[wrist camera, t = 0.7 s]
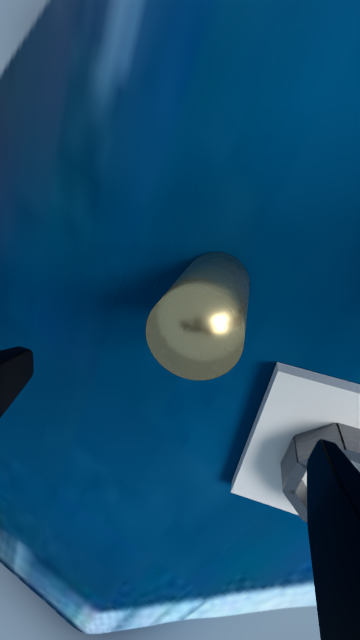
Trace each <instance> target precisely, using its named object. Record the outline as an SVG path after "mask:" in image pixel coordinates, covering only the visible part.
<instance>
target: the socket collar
mask: <svg viewBox="0 0 360 640" xmlns="http://www.w3.org/2000/svg"><path fill="white" fill-rule="evenodd" d="M319 439H324V440H328V441H331V442H334V443H336V444H337V445H338V447H339V448H340V449H341V450H342V451H343V453H344V454H345V455H346V456H347V457H348V459H349V460H350V461H353V462H356V463H359V464H360V429H359V428H355V427H352V426H348V425H345V424H341V423H337V424H336V423H332V424H329V425H326V426H322V427H319V428H316V429H313V430H309V431H306V432H303V433H299V434H296V435H295V436H293V438H292V440H291V442H290V444H289V446H288V448H287V450H286V453H285V455H284V457H283V459H282V461H281V463H280V464H281V477H282V490H283V493H284V495H285V496H286V498H287V499H288V500H289V502H290V503H291V505H292V506H293V507H294V509H295V510H296V512H297V513H298V514H299V516H300V517H301V519H302V520H304V521H305V522H307V486H306V484H305V483H304V481H303V480H302V478H303V477H304V475H305V473H306V471H307V461H308V458H309V456H310V454H311V452H312V450H313V448H314V447H315V445H316V443H317V441H318V440H319Z"/></svg>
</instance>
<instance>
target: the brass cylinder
mask: <svg viewBox="0 0 360 640" xmlns="http://www.w3.org/2000/svg"><path fill="white" fill-rule="evenodd" d="M249 287H250V281H249V276H248V273H247V270H246V268H245V267H244V265H243V264H242V263H241V262H240V261H239V260H238V259H237V258H235V257H234V256H232V255H230V254H227V253H223V252H209V253H206V254H203V255H201V256H199V257H198V258H196V259H195V260H194V261H193V262H192V263H191V264H190V265H189V266H188V268H187V269H186V270H185V271H184V272H183V274H182V275H181V276H180V277H179V278H178V279H177V281H176V282H175V283H174V284H173V285H172V286H171V288H170V289H169V290H168V291H167V292H166V293H165V295H164V296H163V297H162V298H161V299H160V300H159V302H158V303H157V304H156V305H155V306H154V308H153V309H152V311H151V312H150V314H149V317H148V319H147V324H146V338H147V343H148V346H149V348H150V350H151V352H152V354H153V356H154V357H155V358H156V360H157V361H158V362H159V363H160V364H161V365H162V366H163V367H164V368H166V369H167V370H168V371H170V372H172V373H173V374H175V375H178V376H180V377H183V378H186V379H191V380H209V379H213V378H216V377H219V376H221V375H223V374H225V373H226V372H228V371H229V370H230V369H232V368H233V367H234V366H235V364H236V363H237V362H238V360H239V358H240V357H241V354H242V351H243V347H244V339H245V328H246V318H247V308H248V297H249Z"/></svg>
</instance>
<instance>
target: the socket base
mask: <svg viewBox="0 0 360 640" xmlns="http://www.w3.org/2000/svg"><path fill="white" fill-rule="evenodd" d="M332 423H336V424H337V423H341V424H345V425H348V426H352V427H355V428H359V429H360V384H356V383H352V382H349V381H345V380H341V379H338V378H334V377H330V376H327V375H323V374H319V373H316V372H312V371H308V370H305V369H301V368H297V367H294V366H290V365H286V364H283V363H279V362H277V363H276V366H275V369H274V371H273V374H272V377H271V379H270V382H269V384H268V387H267V390H266V392H265V395H264V398H263V400H262V403H261V405H260V408H259V411H258V413H257V416H256V419H255V421H254V424H253V426H252V429H251V432H250V434H249V437H248V440H247V442H246V445H245V448H244V450H243V453H242V455H241V458H240V461H239V463H238V466H237V469H236V471H235V474H234V476H233V479H232V486H231V492H232V493H235V494H238V495H240V496H243V497H246V498H249V499H252V500H255V501H258V502H261V503H264V504H267V505H270V506H273V507H276V508H279V509H282V510H285V511H288V512H291V513H294V514H297V515H299V514H298V513H297V512H296V510H295V509H294V507H293V506H292V505H291V503H290V502H289V500H288V499H287V498H286V496H285V495H284V493H283V490H282V477H281V464H280V463H281V461H282V459H283V457H284V455H285V453H286V450H287V448H288V446H289V444H290V442H291V440H292V438H293V436H295V435H296V434H299V433H303V432H306V431H309V430H313V429H316V428H319V427H322V426H326V425H329V424H332ZM351 462H352V463H353V465H354V466H355V467H356V468H357V469H358V471H359V472H360V464H359V463H356V462H353V461H351ZM302 480H303V481H304V483H305V484H306V486H307V471H306V473H305V475H304V477H303V478H302Z"/></svg>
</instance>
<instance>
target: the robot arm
mask: <svg viewBox="0 0 360 640" xmlns="http://www.w3.org/2000/svg"><path fill="white" fill-rule="evenodd" d="M33 370H34V369H33V353H32V351H31V350H30V349H27V348H24V347H14V348H10V349H6V350H2V351H0V417H1V416H2V415H3V414H4V412H5V411H6V410H7V409H8V407H9V406H10V405H11V403H12V402H13V401H14V400H15V398H16V397H17V396H18V394H19V393H20V392H21V390H22V389H23V388H24V386H25V385H26V384H27V383H28V381H29V380H30V379H31V377H32V375H33ZM307 524H308V534H309V543H310V551H311V560H312V568H313V577H314V586H315V594H316V603H317V611H318V620H319V627H320V637H321V640H360V472H359V471H358V469H357V468H356V467H355V466H354V465H353V463H352V462H351V461H350V460H349V459H348V457H347V456H346V455H345V454H344V453H343V451H342V450H341V449H340V448H339V447H338V445H337V444H336V443H334V442H331V441H328V440H324V439H319V440H318V441H317V443H316V445H315V447H314V448H313V450H312V452H311V454H310V456H309V458H308V461H307Z"/></svg>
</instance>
